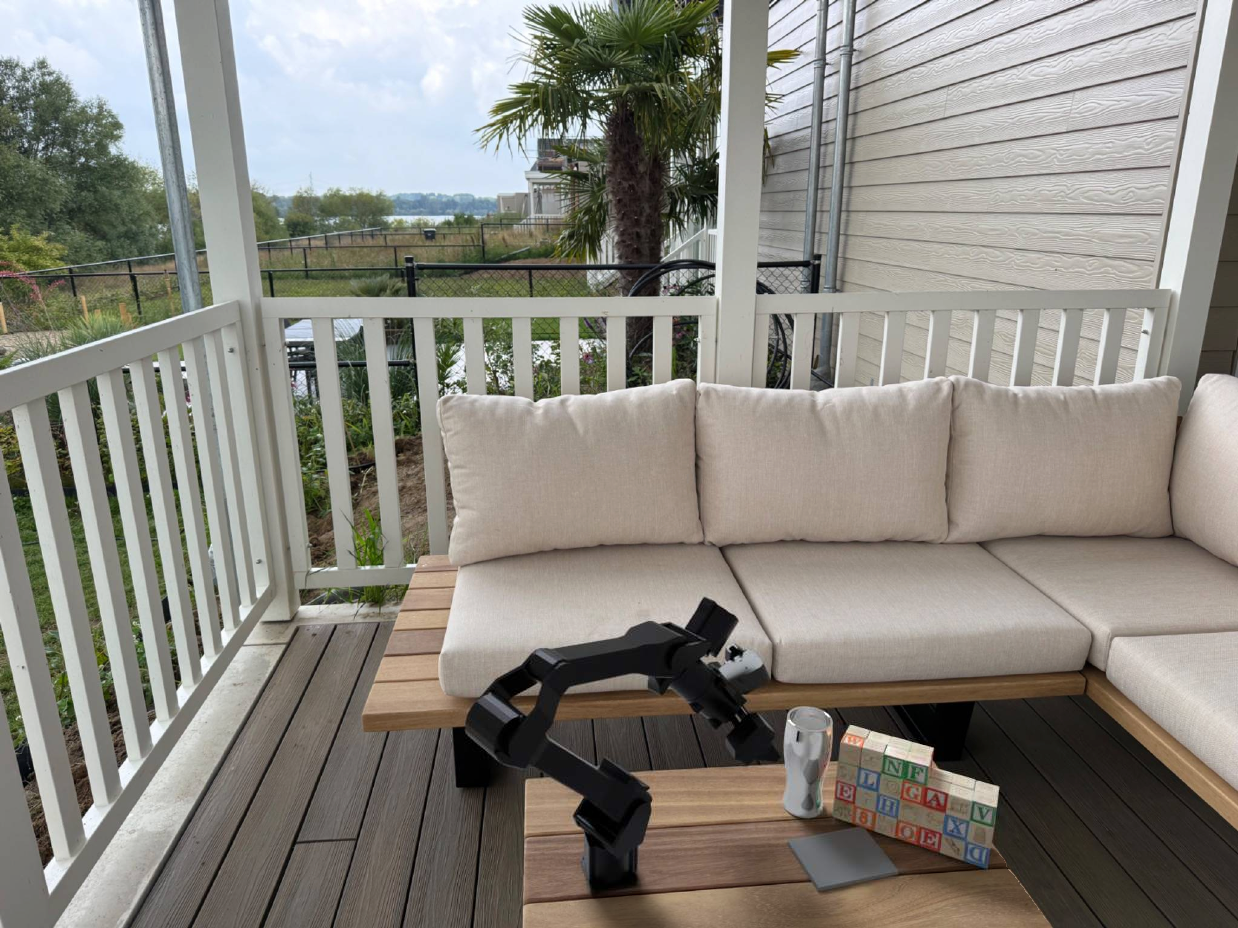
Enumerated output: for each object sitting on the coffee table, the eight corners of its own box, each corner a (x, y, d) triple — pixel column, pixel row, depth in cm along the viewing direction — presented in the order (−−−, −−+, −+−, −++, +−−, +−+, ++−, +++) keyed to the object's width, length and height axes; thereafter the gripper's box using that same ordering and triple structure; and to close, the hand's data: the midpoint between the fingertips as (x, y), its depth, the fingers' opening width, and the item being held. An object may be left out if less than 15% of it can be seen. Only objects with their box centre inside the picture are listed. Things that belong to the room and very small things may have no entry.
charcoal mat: (818, 891, 106) (818, 887, 106) (787, 843, 115) (787, 840, 114) (898, 874, 109) (898, 870, 109) (862, 829, 118) (862, 825, 117)
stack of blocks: (991, 846, 115) (1003, 766, 112) (987, 870, 109) (1000, 787, 107) (840, 796, 125) (849, 722, 122) (830, 816, 119) (839, 739, 117)
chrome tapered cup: (806, 827, 118) (814, 737, 114) (769, 802, 123) (776, 716, 119) (835, 807, 122) (843, 720, 118) (798, 783, 127) (805, 700, 123)
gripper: (765, 674, 103) (835, 736, 109) (711, 611, 120) (774, 668, 126) (705, 737, 103) (778, 796, 109) (660, 665, 121) (725, 719, 126)
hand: (764, 739), depth 118 cm, fingers open, 9 cm apart
